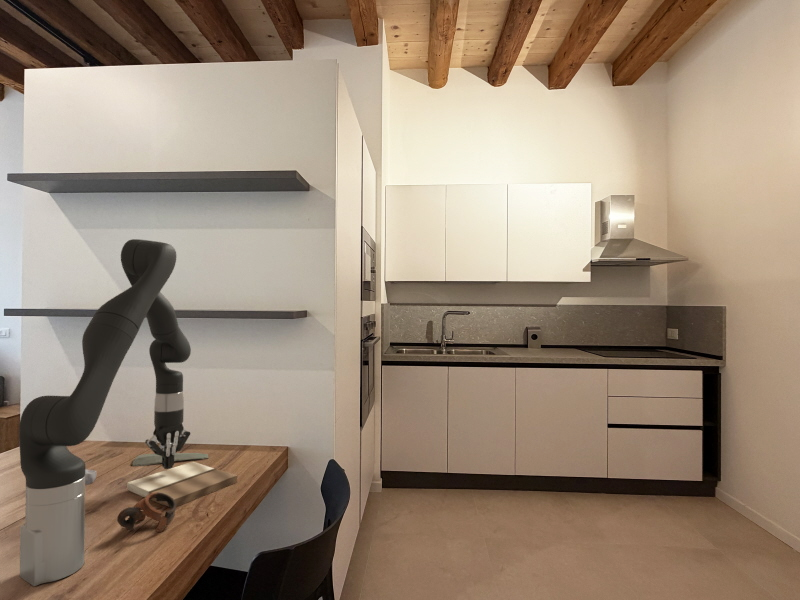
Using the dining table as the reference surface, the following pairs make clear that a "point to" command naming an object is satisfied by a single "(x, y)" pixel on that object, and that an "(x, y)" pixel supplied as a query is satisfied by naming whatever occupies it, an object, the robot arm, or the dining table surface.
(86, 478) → the stone block
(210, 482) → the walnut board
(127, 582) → the dining table surface
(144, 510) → the brown ringed bracket
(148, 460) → the stone slab
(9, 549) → the dining table surface
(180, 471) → the ash plank
